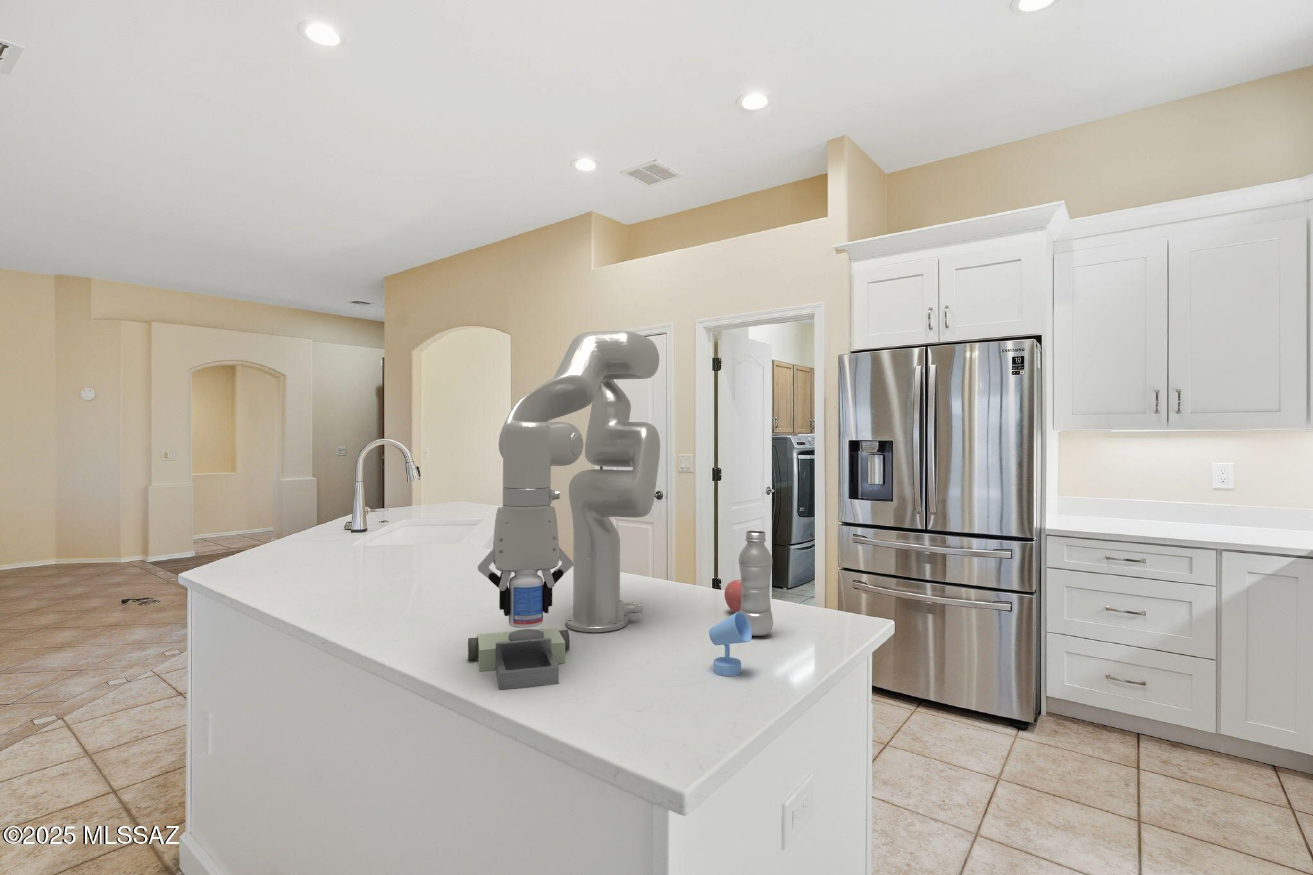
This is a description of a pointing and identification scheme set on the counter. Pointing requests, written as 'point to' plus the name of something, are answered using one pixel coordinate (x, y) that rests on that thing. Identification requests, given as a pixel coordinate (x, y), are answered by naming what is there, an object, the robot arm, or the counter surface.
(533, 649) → the gray square tray
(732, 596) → the apple
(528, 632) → the green block with knobs
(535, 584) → the pill bottle
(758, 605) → the plastic bottle
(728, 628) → the spotlight
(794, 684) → the counter surface
